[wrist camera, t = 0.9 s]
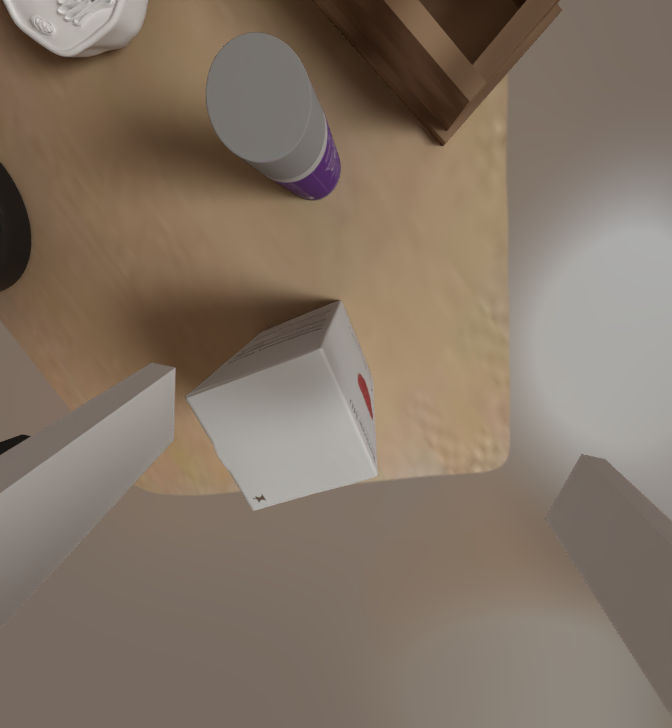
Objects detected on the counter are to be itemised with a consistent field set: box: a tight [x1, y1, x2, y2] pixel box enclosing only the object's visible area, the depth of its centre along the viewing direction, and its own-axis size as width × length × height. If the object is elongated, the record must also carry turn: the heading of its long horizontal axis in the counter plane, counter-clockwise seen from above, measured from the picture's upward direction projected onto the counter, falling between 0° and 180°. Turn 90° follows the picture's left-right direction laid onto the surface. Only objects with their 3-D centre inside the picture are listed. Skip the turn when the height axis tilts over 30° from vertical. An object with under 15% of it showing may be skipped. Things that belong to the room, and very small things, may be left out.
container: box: [206, 32, 341, 200], centre depth 21 cm, size 5×5×15 cm
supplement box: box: [185, 300, 377, 511], centre depth 27 cm, size 9×9×15 cm
